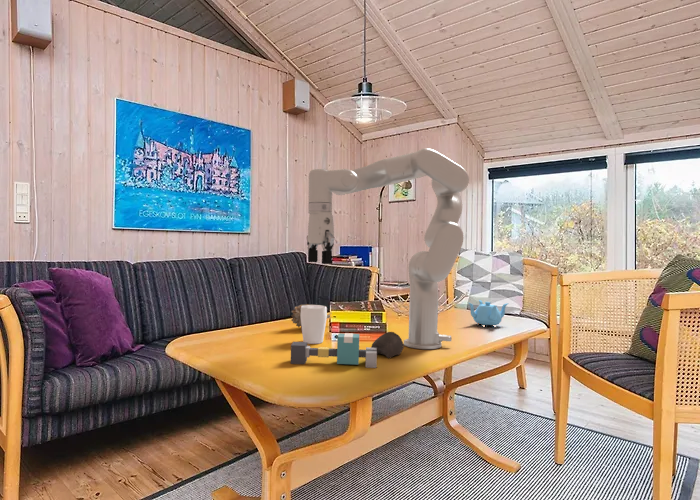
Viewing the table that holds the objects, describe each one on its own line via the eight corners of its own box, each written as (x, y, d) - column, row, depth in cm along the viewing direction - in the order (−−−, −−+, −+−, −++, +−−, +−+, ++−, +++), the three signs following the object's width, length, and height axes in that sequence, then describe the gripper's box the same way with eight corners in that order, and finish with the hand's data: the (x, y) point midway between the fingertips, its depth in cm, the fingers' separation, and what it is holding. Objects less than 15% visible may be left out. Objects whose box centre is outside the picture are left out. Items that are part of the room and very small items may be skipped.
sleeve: (358, 359, 136) (359, 333, 135) (358, 364, 131) (359, 337, 130) (338, 359, 136) (338, 332, 136) (336, 363, 131) (337, 336, 131)
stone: (370, 369, 142) (388, 351, 137) (362, 344, 148) (379, 326, 142) (395, 369, 147) (414, 352, 142) (387, 346, 153) (404, 328, 147)
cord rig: (376, 361, 136) (376, 343, 136) (376, 367, 130) (376, 349, 129) (293, 358, 137) (294, 340, 137) (289, 364, 130) (290, 346, 130)
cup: (322, 345, 154) (323, 309, 154) (296, 343, 156) (297, 307, 156) (329, 339, 163) (330, 305, 163) (304, 338, 165) (305, 304, 165)
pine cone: (301, 333, 173) (301, 306, 172) (285, 329, 179) (285, 303, 179) (343, 326, 188) (344, 301, 188) (327, 323, 195) (328, 299, 195)
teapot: (466, 325, 197) (466, 301, 197) (479, 321, 207) (480, 298, 207) (495, 330, 189) (496, 305, 189) (508, 325, 199) (508, 301, 199)
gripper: (344, 208, 143) (343, 264, 144) (318, 210, 158) (317, 261, 159) (322, 207, 139) (321, 264, 140) (298, 209, 154) (297, 261, 155)
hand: (319, 263), depth 149 cm, fingers open, 9 cm apart
